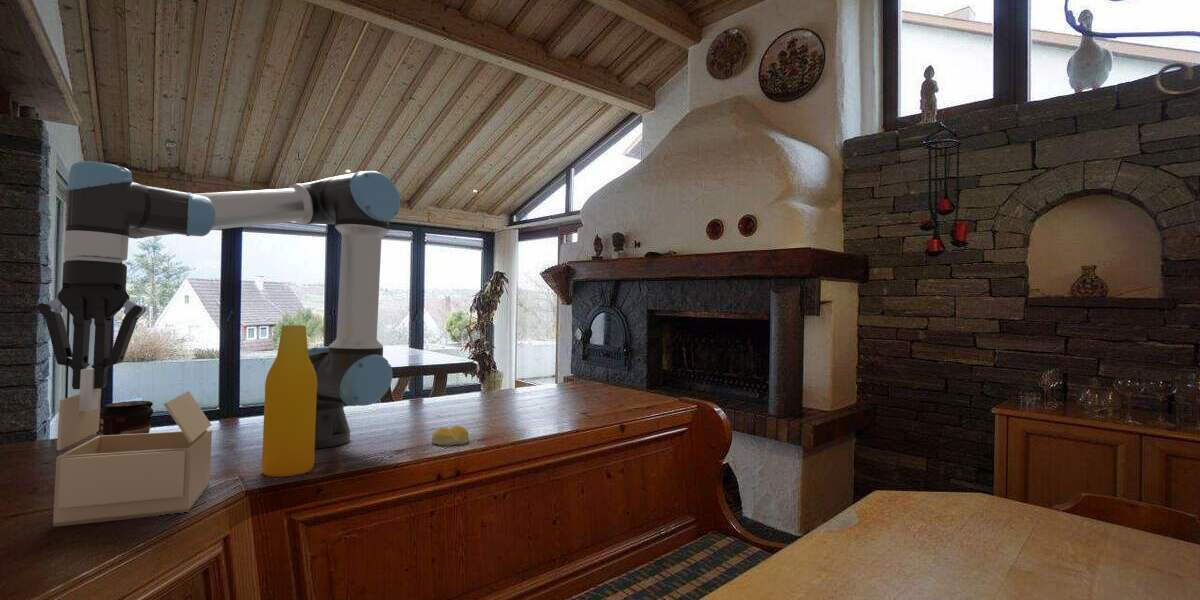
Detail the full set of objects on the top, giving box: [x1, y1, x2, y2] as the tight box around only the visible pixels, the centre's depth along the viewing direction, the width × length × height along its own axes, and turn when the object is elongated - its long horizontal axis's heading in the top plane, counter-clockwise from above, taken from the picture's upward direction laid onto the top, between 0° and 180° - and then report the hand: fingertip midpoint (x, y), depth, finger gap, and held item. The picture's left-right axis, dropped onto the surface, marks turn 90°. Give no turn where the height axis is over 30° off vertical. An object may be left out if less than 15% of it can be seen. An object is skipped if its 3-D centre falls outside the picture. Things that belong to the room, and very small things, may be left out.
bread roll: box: [431, 425, 471, 447], centre depth 138 cm, size 8×9×4 cm
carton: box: [52, 429, 213, 528], centre depth 90 cm, size 16×16×10 cm
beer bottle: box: [261, 324, 317, 478], centre depth 110 cm, size 9×9×29 cm
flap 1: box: [56, 389, 102, 451], centre depth 87 cm, size 7×14×1 cm
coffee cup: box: [99, 400, 154, 436], centre depth 109 cm, size 9×8×13 cm
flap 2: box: [163, 390, 212, 442], centre depth 93 cm, size 7×14×1 cm
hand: (88, 409), depth 87 cm, fingers closed
